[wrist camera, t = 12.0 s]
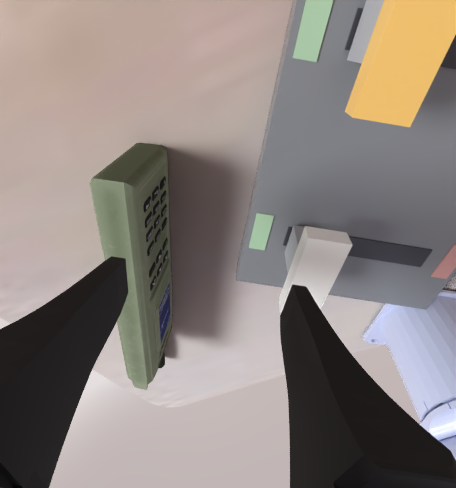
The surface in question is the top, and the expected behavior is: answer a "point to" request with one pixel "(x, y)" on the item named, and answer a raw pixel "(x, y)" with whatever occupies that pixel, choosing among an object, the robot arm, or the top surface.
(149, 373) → the handheld radio
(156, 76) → the top surface
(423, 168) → the switch panel
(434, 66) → the amber switch
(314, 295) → the white switch
